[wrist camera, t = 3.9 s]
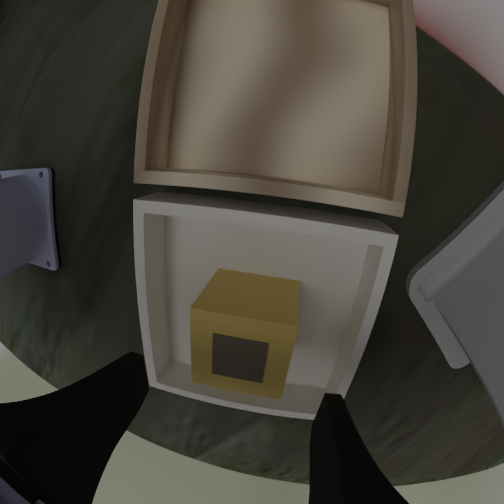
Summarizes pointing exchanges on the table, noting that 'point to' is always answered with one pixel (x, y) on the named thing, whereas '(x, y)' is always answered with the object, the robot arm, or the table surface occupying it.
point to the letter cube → (244, 332)
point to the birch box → (282, 99)
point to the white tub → (263, 263)
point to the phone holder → (468, 295)
